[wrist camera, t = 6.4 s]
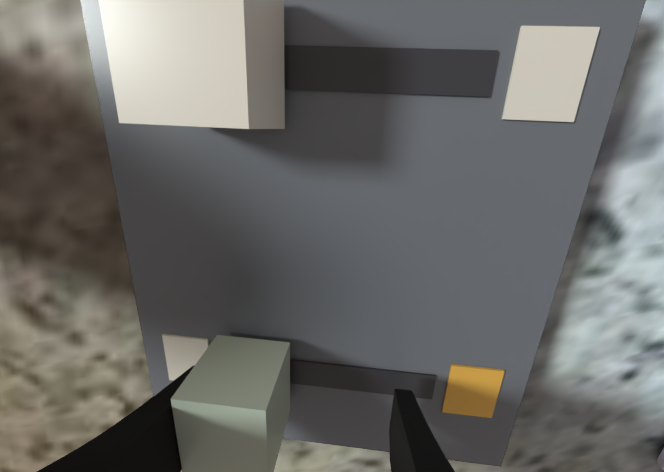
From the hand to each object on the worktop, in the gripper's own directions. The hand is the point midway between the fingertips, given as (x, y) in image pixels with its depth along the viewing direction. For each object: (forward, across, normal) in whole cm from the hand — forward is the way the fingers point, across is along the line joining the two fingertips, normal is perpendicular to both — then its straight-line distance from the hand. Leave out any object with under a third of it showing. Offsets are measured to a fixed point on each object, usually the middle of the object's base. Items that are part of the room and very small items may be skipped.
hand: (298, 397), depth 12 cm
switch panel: (+3, -1, -5) cm, 6 cm away
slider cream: (+1, +2, -12) cm, 12 cm away
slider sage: (+1, +2, 0) cm, 2 cm away
